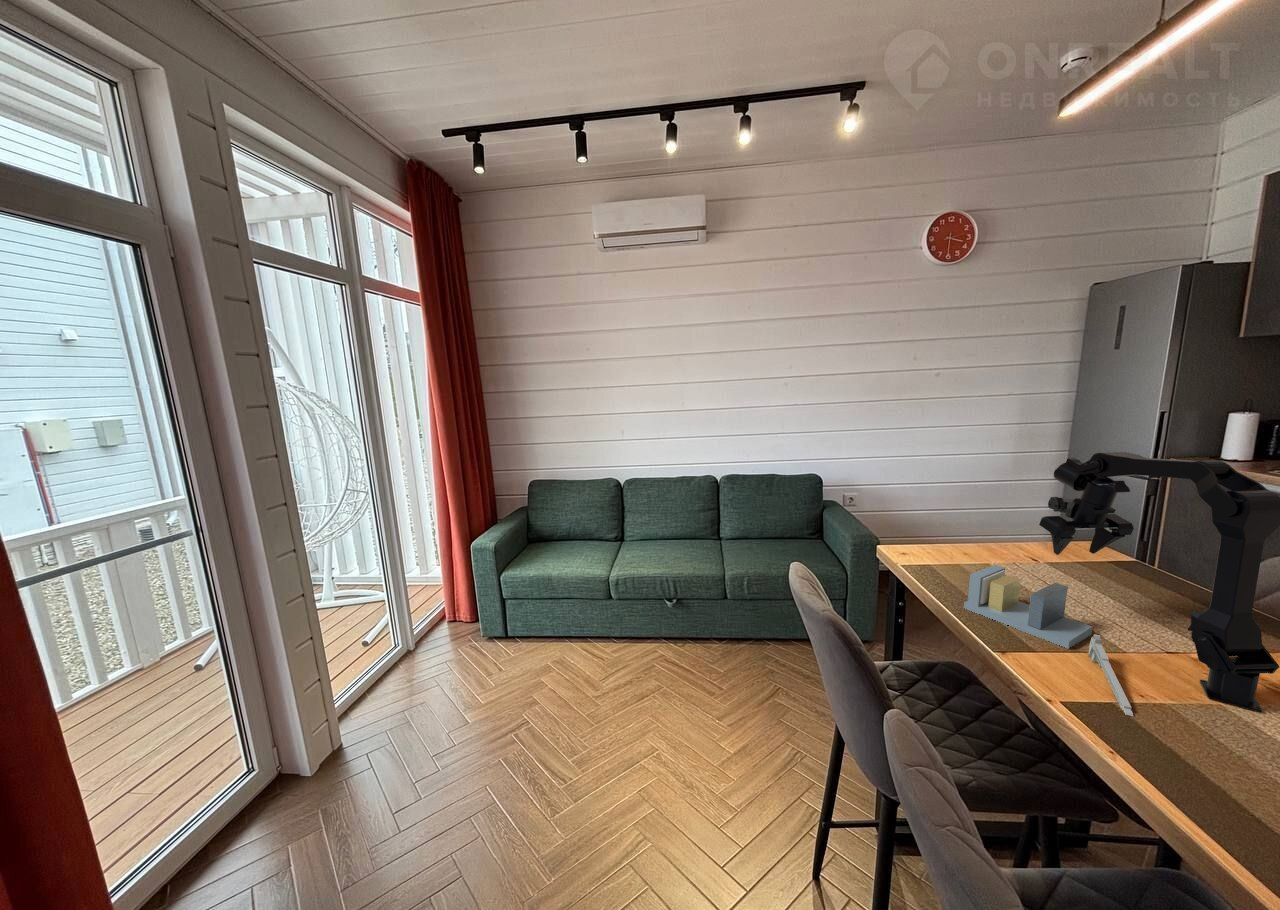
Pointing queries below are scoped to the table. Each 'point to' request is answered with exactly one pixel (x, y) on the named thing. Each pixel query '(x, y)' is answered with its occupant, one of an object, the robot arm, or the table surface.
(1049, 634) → the vise
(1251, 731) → the table surface
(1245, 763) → the table surface
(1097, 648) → the caliper
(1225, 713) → the table surface
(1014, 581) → the pale yellow wooden block
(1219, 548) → the robot arm
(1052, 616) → the sliding jaw
